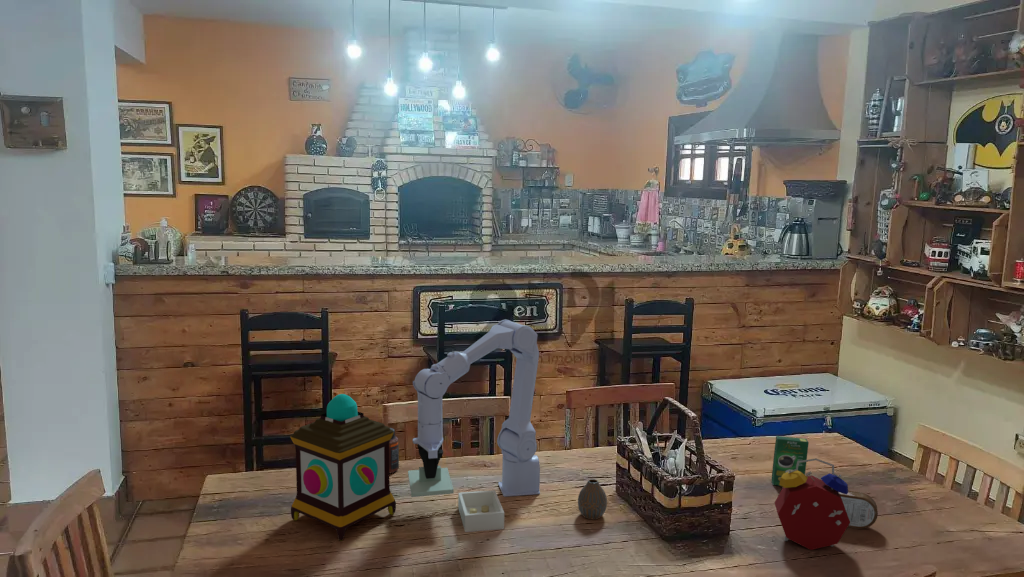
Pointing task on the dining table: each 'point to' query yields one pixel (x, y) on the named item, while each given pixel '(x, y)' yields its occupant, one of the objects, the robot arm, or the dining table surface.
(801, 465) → the coffee box
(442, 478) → the lid
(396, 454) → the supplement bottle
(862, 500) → the tin
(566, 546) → the dining table surface
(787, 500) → the alarm clock
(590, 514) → the vase
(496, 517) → the tub
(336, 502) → the decorative lantern
